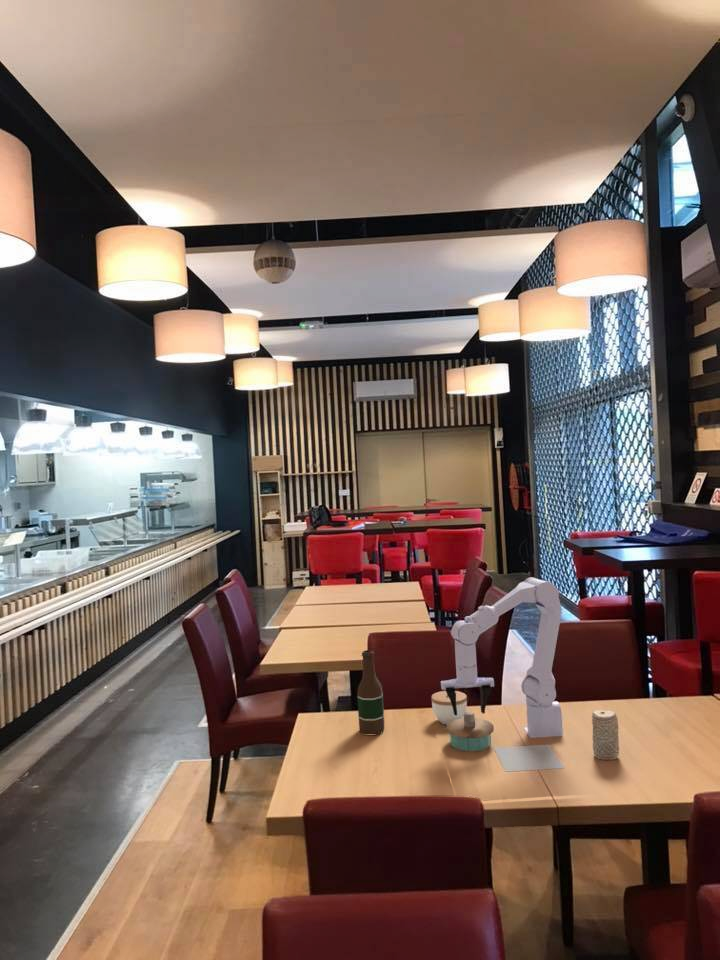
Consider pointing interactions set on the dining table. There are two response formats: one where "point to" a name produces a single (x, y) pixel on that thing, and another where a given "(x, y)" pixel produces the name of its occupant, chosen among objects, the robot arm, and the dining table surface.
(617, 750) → the carving
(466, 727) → the lid
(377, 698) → the beer bottle
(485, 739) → the bowl
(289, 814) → the dining table surface
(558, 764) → the mat
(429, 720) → the dining table surface
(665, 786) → the dining table surface
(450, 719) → the lidded jar
